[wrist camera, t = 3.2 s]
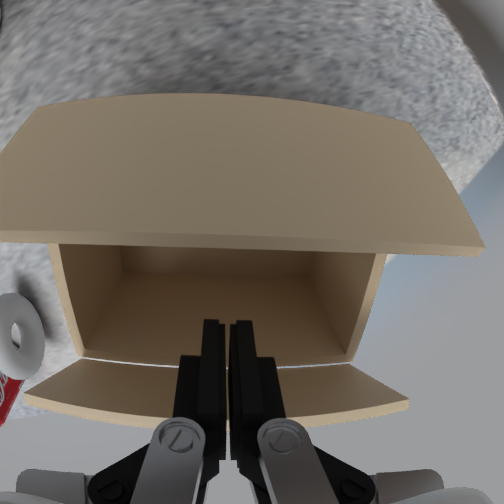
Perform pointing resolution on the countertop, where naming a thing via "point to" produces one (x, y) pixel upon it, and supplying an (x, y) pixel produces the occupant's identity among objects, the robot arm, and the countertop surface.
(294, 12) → the countertop surface
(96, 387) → the flap
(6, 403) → the soda can
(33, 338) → the donut
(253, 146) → the flap
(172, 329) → the carton
